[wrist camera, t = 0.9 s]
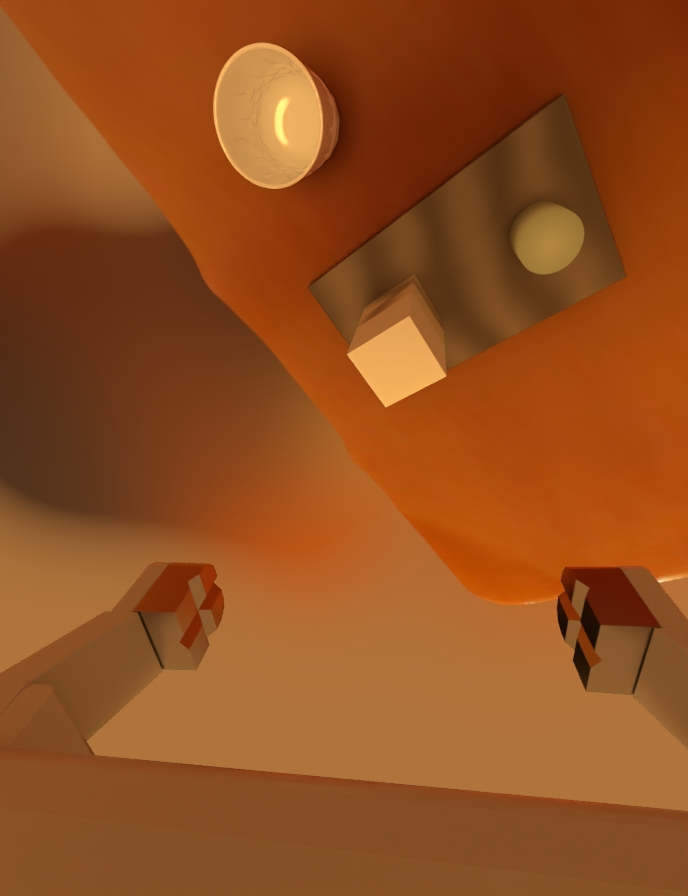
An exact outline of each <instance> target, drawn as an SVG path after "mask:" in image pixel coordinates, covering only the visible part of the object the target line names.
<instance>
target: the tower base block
mask: <svg viewBox="0 0 688 896" xmlns="http://www.w3.org/2000/svg"><path fill="white" fill-rule="evenodd" d="M410 293H413V294H414V296H415V298H416V299H417V301H418V303H419V304H420V306H421V308H422V309H423V311H424V313H425V314H426V316H427V318H428V319H429V321H430V323H431V325H432V326H433V328H434V330H435V331H436V333H437V335H438V336H439V338H440V340H441V341H442V343H443V345H444V346H445V343H444V327H443V322H442V320H441V319H440V317H439V315H438V314H437V312H436V310H435V308H434V307H433V305H432V303H431V302H430V300H429V298H428V296H427V295H426V293H425V291H424V290H423V288H422V286H421V284H420V283H419V281H418V279H417V278H416V276H415V274H413V275H412V276H410V277H409V278H407V279H406V280H404V281H403V282H401V283H400V284H398V285H397V286H395V287H394V288H392V289H391V290H389V291H388V292H386V293H385V294H383V295H382V296H380V297H379V298H377V299H376V300H374V301H373V302H371V303H370V304H368V305H367V306H365V308H364V311H363V314H362V316H361V319H360V321H359V324H358V327H359V326H360V325H362V324H364V323H365V322H367V321H368V320H370V319H371V318H373V317H374V316H376V315H377V314H379V313H381V312H382V311H384V310H385V309H387V308H388V307H390V306H391V305H393V304H394V303H396V302H398V301H399V300H401V299H402V298H404V297H405V296H407V295H408V294H410Z"/></svg>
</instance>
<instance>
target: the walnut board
mask: <svg viewBox="0 0 688 896" xmlns="http://www.w3.org/2000/svg"><path fill="white" fill-rule="evenodd" d="M539 201H552V202H555V203H557V204H559V205H561V206H563V207H564V208H566V209H568V210H570V211H572V212H573V213H575V214H576V215H577V216H578V217H579V218H580V220H581V221H582V224H583V227H584V241H583V244H582V247H581V249H580V251H579V253H578V254H577V256H576V257H575V258H574V260H573V261H572V262H571V263H570V264H569V265H567V266H566V267H565V268H563V269H561V270H559V271H557V272H555V273H551V274H536V273H533V272H531V271H529V270H528V269H527V268H526V267H525V266H524V265H523V264H522V262H521V261H520V259H519V258H518V257H517V255H516V254H515V252H514V251H513V249H512V247H511V244H510V231H511V227H512V225H513V222H514V220H515V219H516V217H517V216H518V215H519V213H520V212H521V211H522V210H524V209H525V208H526V207H527V206H529V205H531V204H533V203H535V202H539ZM413 274H415V276H416V278H417V279H418V281H419V283H420V284H421V286H422V288H423V290H424V291H425V293H426V295H427V296H428V298H429V300H430V302H431V303H432V305H433V307H434V308H435V310H436V312H437V314H438V315H439V317H440V319H441V320H442V322H443V327H444V343H445V359H446V370H448V369H450V368H452V367H454V366H456V365H457V364H459V363H461V362H463V361H465V360H467V359H469V358H471V357H473V356H475V355H477V354H479V353H481V352H482V351H484V350H486V349H488V348H490V347H492V346H494V345H496V344H498V343H500V342H502V341H504V340H506V339H507V338H509V337H511V336H513V335H515V334H517V333H519V332H521V331H523V330H525V329H527V328H529V327H531V326H532V325H534V324H536V323H538V322H540V321H542V320H544V319H546V318H548V317H550V316H552V315H554V314H556V313H557V312H559V311H561V310H563V309H565V308H567V307H569V306H571V305H573V304H575V303H577V302H579V301H581V300H582V299H584V298H586V297H588V296H590V295H592V294H594V293H596V292H598V291H600V290H602V289H604V288H606V287H607V286H609V285H611V284H613V283H615V282H617V281H619V280H621V279H623V278H625V277H626V274H625V271H624V268H623V265H622V262H621V259H620V256H619V253H618V250H617V248H616V245H615V242H614V239H613V236H612V233H611V230H610V227H609V224H608V221H607V218H606V215H605V212H604V209H603V206H602V203H601V200H600V197H599V194H598V191H597V188H596V185H595V182H594V179H593V176H592V173H591V170H590V167H589V164H588V162H587V159H586V156H585V153H584V150H583V147H582V144H581V141H580V138H579V135H578V132H577V129H576V126H575V123H574V120H573V117H572V114H571V111H570V108H569V105H568V102H567V99H566V96H565V93H564V94H561V95H559V96H558V97H556V98H555V99H554V100H552V101H551V102H550V103H548V104H547V105H546V106H544V107H543V108H542V109H541V110H539V111H538V112H537V113H535V114H534V115H533V116H531V117H530V118H529V119H527V120H526V121H525V122H523V123H522V124H521V125H519V126H518V127H517V128H515V129H514V130H513V131H512V132H510V133H509V134H508V135H506V136H505V137H504V138H502V139H501V140H500V141H498V142H497V143H496V144H494V145H493V146H492V147H490V148H489V149H488V150H487V151H485V152H484V153H483V154H481V155H480V156H479V157H477V158H476V159H475V160H473V161H472V162H471V163H469V164H468V165H467V166H465V167H464V168H463V169H461V170H460V171H459V172H458V173H456V174H455V175H454V176H452V177H451V178H450V179H448V180H447V181H446V182H444V183H443V184H442V185H440V186H439V187H438V188H436V189H435V190H434V191H433V192H431V193H430V194H429V195H427V196H426V197H425V198H423V199H422V200H421V201H419V202H418V203H417V204H415V205H414V206H413V207H411V208H410V209H409V210H407V211H406V212H405V213H404V214H402V215H401V216H400V217H398V218H397V219H396V220H394V221H393V222H392V223H390V224H389V225H388V226H386V227H385V228H384V229H382V230H381V231H380V232H378V233H377V234H376V235H375V236H373V237H372V238H371V239H369V240H368V241H367V242H365V243H364V244H363V245H361V246H360V247H359V248H357V249H356V250H355V251H353V252H352V253H351V254H350V255H348V256H347V257H346V258H344V259H343V260H342V261H340V262H339V263H338V264H336V265H335V266H334V267H332V268H331V269H330V270H328V271H327V272H326V273H324V274H323V275H322V276H321V277H319V278H318V279H317V280H315V281H314V282H313V283H311V284H310V286H309V287H308V289H309V290H310V291H311V293H312V294H313V296H314V297H315V298H316V300H317V301H318V303H319V304H320V305H321V307H322V308H323V310H324V311H325V312H326V314H327V315H328V317H329V318H330V319H331V321H332V322H333V323H334V325H335V326H336V328H337V329H338V330H339V332H340V333H341V335H342V336H343V337H344V339H345V340H346V342H347V343H348V344H349V346H350V345H351V342H352V340H353V337H354V334H355V332H356V329H357V327H358V324H359V321H360V319H361V316H362V314H363V311H364V308H365V306H367V305H368V304H370V303H371V302H373V301H374V300H376V299H377V298H379V297H380V296H382V295H383V294H385V293H386V292H388V291H389V290H391V289H392V288H394V287H395V286H397V285H398V284H400V283H401V282H403V281H404V280H406V279H407V278H409V277H410V276H412V275H413Z"/></svg>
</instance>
